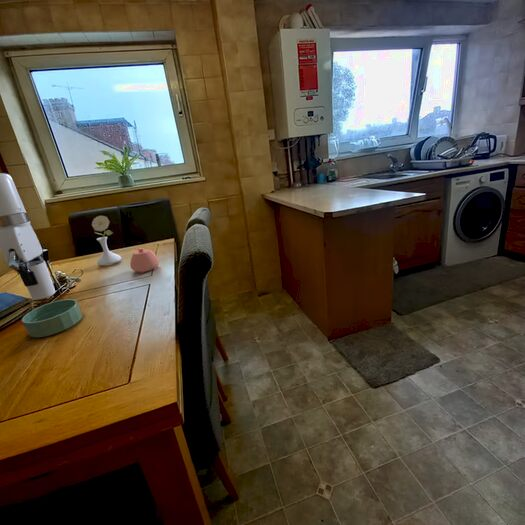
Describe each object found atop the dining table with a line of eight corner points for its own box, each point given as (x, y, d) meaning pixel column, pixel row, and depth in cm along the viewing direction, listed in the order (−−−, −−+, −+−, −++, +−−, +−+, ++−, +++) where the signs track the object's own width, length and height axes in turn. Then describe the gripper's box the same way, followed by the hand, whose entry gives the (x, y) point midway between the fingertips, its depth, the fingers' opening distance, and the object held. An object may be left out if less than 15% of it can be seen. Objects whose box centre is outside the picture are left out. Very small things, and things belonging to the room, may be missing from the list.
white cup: (51, 288, 88) (38, 259, 85) (61, 291, 85) (48, 261, 81) (26, 298, 83) (12, 267, 79) (36, 302, 80) (22, 269, 76)
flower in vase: (92, 268, 140) (75, 219, 132) (109, 260, 151) (94, 214, 142) (114, 267, 137) (98, 217, 128) (129, 259, 147) (115, 212, 139)
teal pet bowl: (19, 344, 80) (10, 327, 78) (43, 319, 93) (37, 304, 91) (72, 332, 82) (66, 316, 80) (89, 309, 95) (83, 295, 94)
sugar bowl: (136, 276, 120) (130, 254, 117) (128, 269, 131) (122, 249, 127) (164, 268, 127) (158, 246, 124) (154, 261, 138) (148, 242, 134)
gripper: (14, 218, 83) (38, 273, 89) (-27, 229, 67) (5, 295, 74) (42, 214, 85) (64, 268, 91) (8, 224, 69) (37, 290, 75)
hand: (37, 280), depth 82 cm, fingers closed on white cup, 5 cm apart
